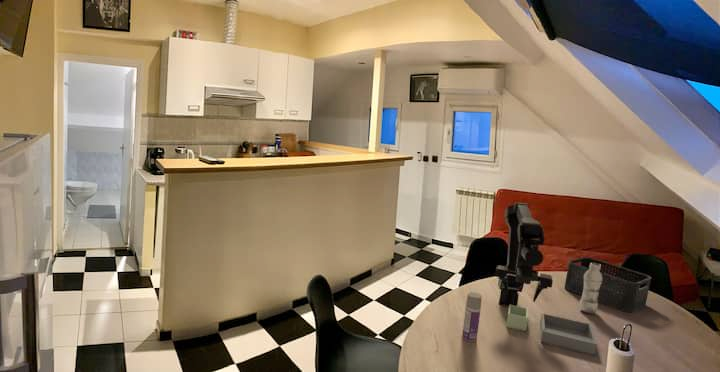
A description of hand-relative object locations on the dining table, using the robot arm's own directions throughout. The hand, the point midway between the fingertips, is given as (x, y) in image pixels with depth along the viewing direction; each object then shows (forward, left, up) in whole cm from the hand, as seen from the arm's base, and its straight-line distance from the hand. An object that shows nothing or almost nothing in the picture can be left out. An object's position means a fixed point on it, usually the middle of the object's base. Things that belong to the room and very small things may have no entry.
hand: (520, 298), depth 147 cm
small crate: (0, 0, -10) cm, 10 cm away
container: (-14, -20, -10) cm, 26 cm away
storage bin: (+35, +52, -10) cm, 63 cm away
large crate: (+16, -2, -10) cm, 19 cm away
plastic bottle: (+26, +28, -10) cm, 39 cm away
